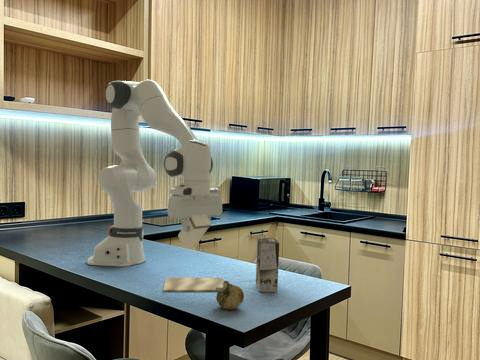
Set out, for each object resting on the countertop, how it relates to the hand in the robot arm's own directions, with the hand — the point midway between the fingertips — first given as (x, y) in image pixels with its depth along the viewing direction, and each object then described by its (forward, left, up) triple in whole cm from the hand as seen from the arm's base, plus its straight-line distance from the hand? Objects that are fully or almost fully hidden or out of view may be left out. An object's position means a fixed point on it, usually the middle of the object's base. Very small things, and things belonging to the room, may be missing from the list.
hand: (195, 230), depth 143 cm
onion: (+10, -22, -19) cm, 31 cm away
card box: (-3, +4, -4) cm, 6 cm away
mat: (0, 0, -19) cm, 19 cm away
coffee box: (+24, -3, -19) cm, 31 cm away
